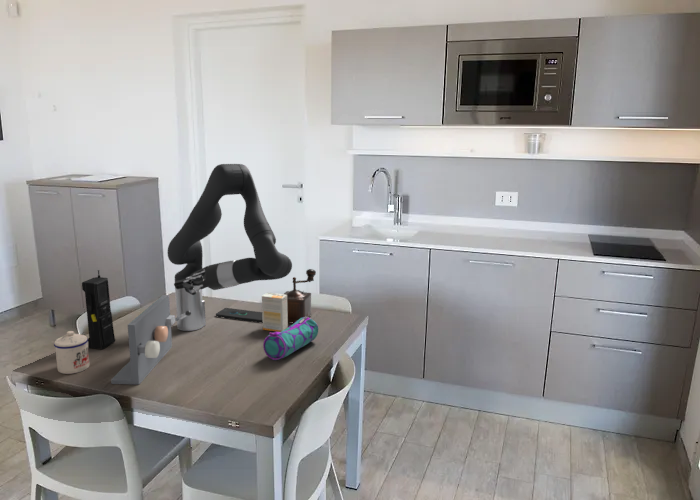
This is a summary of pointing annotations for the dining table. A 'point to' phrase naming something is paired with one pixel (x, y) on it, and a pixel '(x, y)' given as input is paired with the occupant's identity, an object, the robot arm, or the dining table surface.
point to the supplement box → (274, 312)
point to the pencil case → (290, 338)
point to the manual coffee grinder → (299, 300)
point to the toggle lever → (183, 315)
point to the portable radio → (98, 312)
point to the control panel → (140, 335)
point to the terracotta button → (160, 333)
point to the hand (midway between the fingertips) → (176, 285)
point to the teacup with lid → (72, 353)
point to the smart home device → (240, 314)
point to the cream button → (150, 349)
